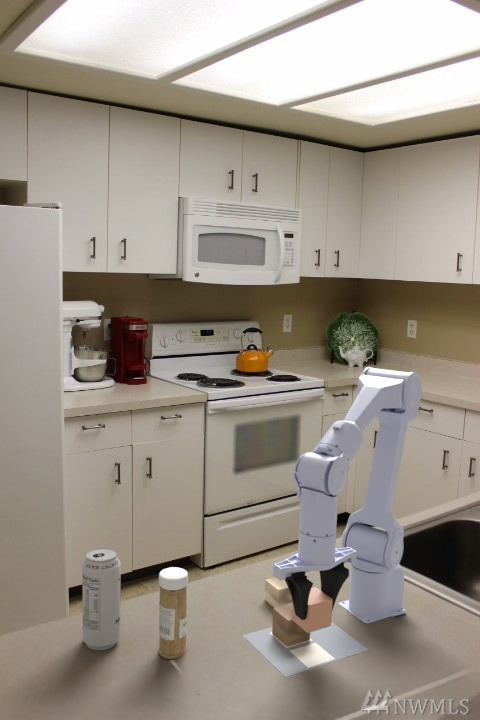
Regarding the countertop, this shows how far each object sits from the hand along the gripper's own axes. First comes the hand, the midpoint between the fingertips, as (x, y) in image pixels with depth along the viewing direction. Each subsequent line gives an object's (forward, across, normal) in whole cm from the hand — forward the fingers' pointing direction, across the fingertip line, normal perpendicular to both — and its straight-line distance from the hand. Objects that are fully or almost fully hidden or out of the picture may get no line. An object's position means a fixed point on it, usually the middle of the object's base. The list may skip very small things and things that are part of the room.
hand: (313, 613), depth 105 cm
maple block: (+8, -5, -16) cm, 19 cm away
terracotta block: (+2, 0, -1) cm, 2 cm away
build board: (+8, -1, -4) cm, 8 cm away
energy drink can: (+8, +28, -20) cm, 35 cm away
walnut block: (+7, 0, -6) cm, 9 cm away
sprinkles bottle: (+8, +19, -12) cm, 24 cm away
